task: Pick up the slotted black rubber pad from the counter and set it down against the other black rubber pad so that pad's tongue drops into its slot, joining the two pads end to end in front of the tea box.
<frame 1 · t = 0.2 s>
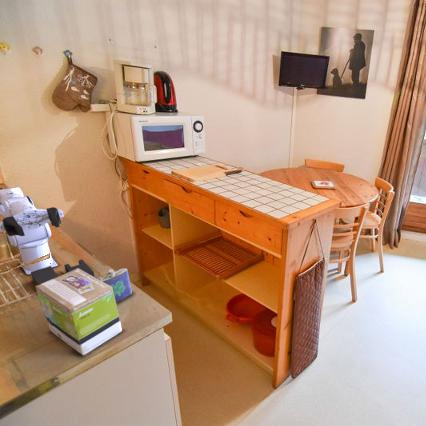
hand: (40, 228, 88), 21 cm above the countertop, tool horizontal, fingers open, 7 cm apart
tongue pad: (48, 284, 98), on the countertop
tea box: (87, 332, 82), on the countertop
flask: (116, 301, 94), on the countertop
slot pad: (80, 277, 103), on the countertop
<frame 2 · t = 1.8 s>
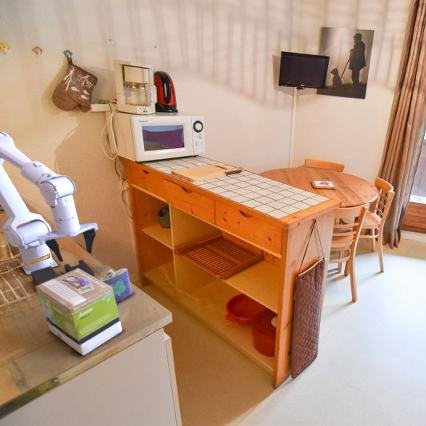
hand: (75, 256, 100), 8 cm above the countertop, tool pointing down, fingers open, 7 cm apart
nothing on the countertop moved.
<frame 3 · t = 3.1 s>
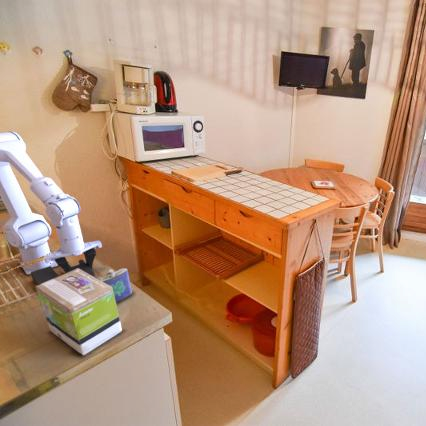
hand: (79, 273, 103), 1 cm above the countertop, tool pointing down, fingers closed on slot pad, 5 cm apart
slot pad: (81, 277, 103), on the countertop, touching gripper
everything else where it was.
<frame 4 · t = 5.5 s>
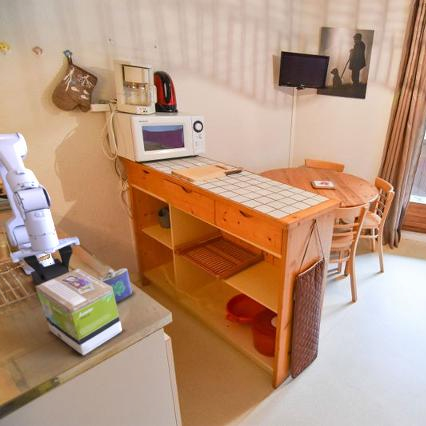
hand: (54, 274, 90), 8 cm above the countertop, tool pointing down, fingers closed on slot pad, 5 cm apart
slot pad: (55, 278, 91), point 7 cm above the countertop, touching gripper
everything else where it was.
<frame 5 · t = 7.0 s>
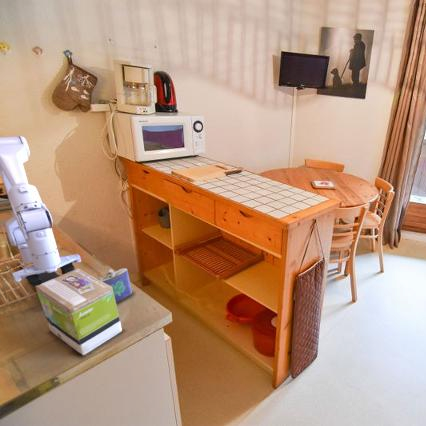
hand: (56, 291, 91), 3 cm above the countertop, tool pointing down, fingers closed on slot pad, 5 cm apart
slot pad: (57, 295, 92), point 2 cm above the countertop, touching gripper
everything else where it was.
when the fingers open (1 cm above the countertop, at t = 8.1 s): slot pad stays where it is, on the countertop.
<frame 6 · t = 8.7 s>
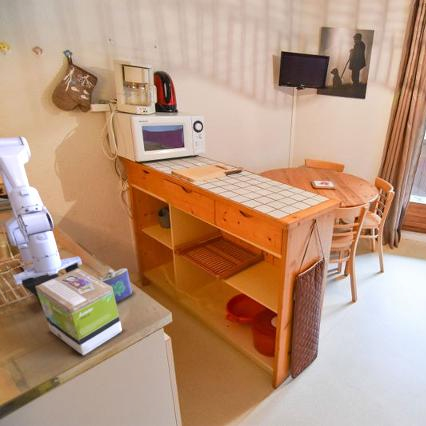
hand: (56, 293, 92), 2 cm above the countertop, tool pointing down, fingers open, 7 cm apart
slot pad: (58, 299, 93), on the countertop
everything else where it was.
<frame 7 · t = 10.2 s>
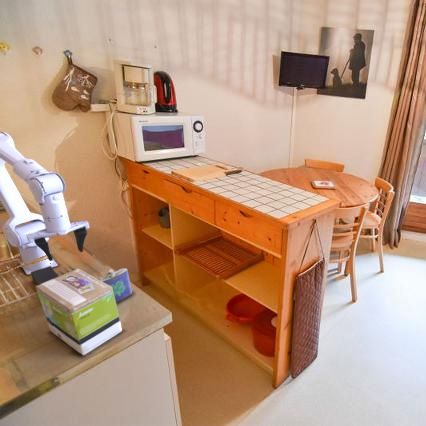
hand: (66, 255, 98), 9 cm above the countertop, tool pointing down, fingers open, 7 cm apart
nothing on the countertop moved.
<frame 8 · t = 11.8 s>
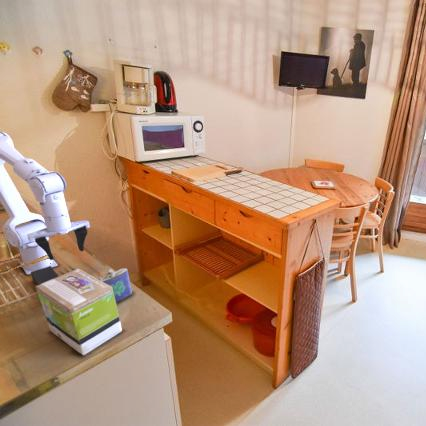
hand: (66, 254, 98), 9 cm above the countertop, tool pointing down, fingers open, 7 cm apart
nothing on the countertop moved.
at the end: slot pad 0.0 cm from the target spot on the countertop beside the tongue pad, on the countertop; slot pad tilted 0°; slot pad inside the target area on the countertop beside the tea box (0.4 cm from its centre), on the countertop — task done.
